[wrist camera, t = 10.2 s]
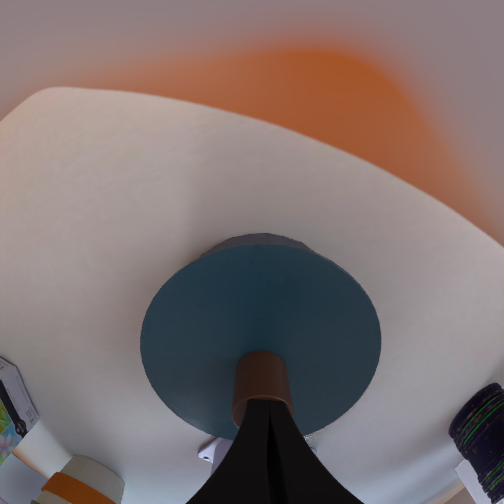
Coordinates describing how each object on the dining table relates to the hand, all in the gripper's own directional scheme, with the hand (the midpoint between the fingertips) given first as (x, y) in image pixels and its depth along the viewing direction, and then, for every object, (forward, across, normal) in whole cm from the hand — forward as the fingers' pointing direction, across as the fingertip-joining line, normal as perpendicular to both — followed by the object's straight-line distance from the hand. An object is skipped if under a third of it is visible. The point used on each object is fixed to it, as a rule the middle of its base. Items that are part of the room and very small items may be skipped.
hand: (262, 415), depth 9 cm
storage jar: (+10, -32, +14) cm, 36 cm away
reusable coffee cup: (+10, +20, +32) cm, 39 cm away
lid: (+4, 0, 0) cm, 4 cm away
